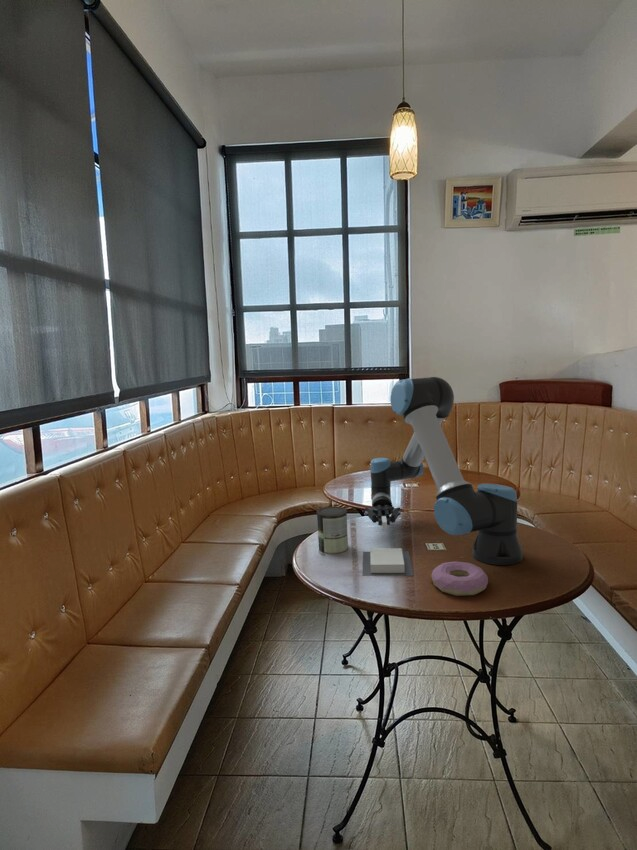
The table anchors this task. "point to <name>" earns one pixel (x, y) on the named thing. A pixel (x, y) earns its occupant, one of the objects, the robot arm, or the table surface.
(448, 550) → the table surface
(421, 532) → the table surface
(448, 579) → the donut
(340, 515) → the coffee can
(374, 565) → the tile
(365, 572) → the mat
